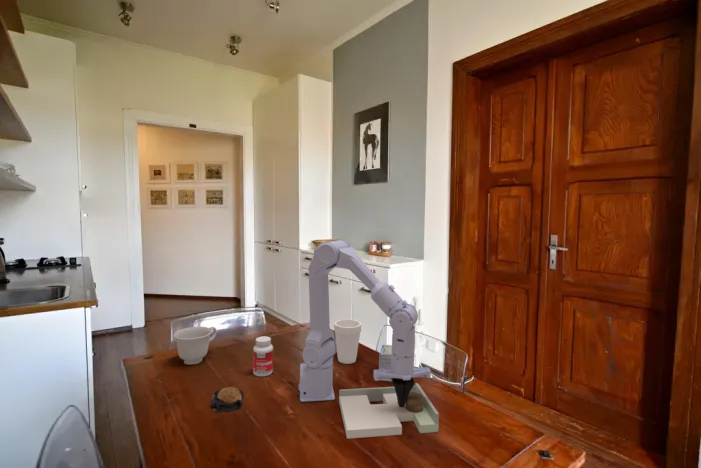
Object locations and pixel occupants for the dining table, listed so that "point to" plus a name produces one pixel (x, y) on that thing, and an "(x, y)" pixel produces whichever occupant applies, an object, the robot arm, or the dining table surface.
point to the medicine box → (385, 358)
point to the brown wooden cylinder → (414, 402)
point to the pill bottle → (263, 357)
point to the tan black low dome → (227, 400)
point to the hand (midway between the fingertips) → (401, 405)
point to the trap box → (382, 412)
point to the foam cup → (347, 339)
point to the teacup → (193, 343)
